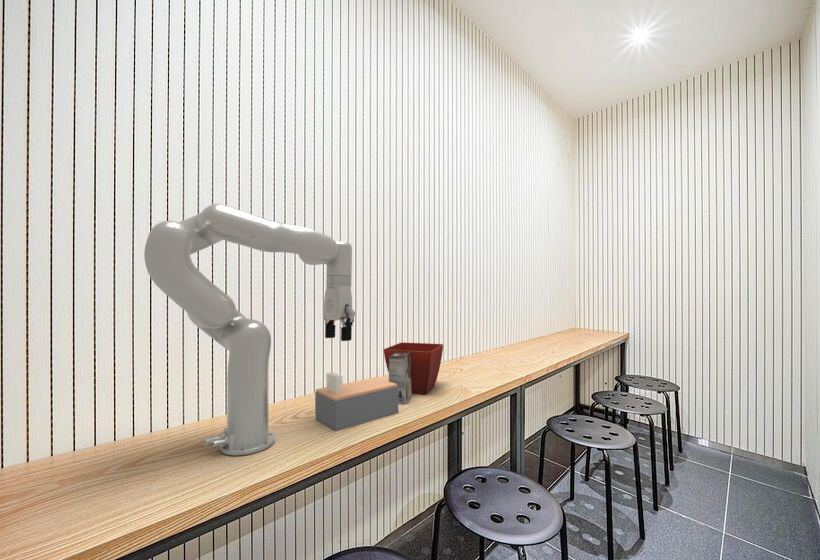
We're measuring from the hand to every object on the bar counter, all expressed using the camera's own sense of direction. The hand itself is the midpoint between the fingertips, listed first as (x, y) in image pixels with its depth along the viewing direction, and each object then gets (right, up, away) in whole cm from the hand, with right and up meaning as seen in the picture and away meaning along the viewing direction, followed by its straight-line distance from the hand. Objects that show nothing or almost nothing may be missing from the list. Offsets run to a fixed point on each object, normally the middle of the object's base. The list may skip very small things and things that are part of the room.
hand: (337, 339), depth 106 cm
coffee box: (+18, -25, +19) cm, 36 cm away
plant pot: (+24, -26, +33) cm, 48 cm away
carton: (+6, -24, +3) cm, 25 cm away
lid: (+5, -16, +4) cm, 17 cm away
